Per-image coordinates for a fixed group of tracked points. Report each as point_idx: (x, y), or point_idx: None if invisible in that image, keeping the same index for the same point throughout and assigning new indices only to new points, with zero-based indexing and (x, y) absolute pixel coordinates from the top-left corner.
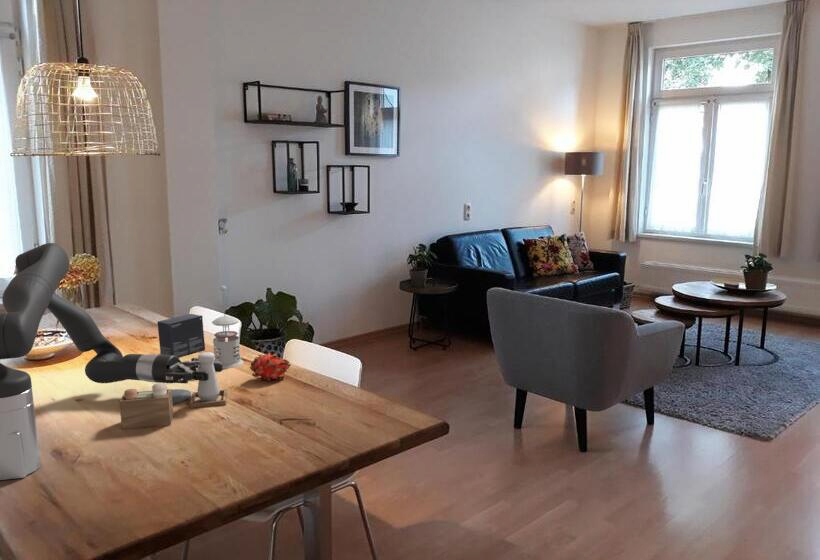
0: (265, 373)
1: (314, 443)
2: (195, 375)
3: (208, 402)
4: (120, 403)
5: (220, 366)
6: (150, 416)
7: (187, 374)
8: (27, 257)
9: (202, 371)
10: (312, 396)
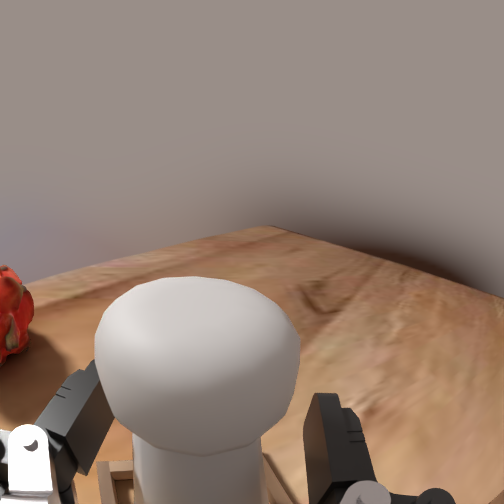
0: (23, 329)
1: (377, 277)
2: (367, 466)
3: (286, 497)
4: None
5: None
6: None
7: (425, 492)
8: None
9: (258, 459)
10: None
